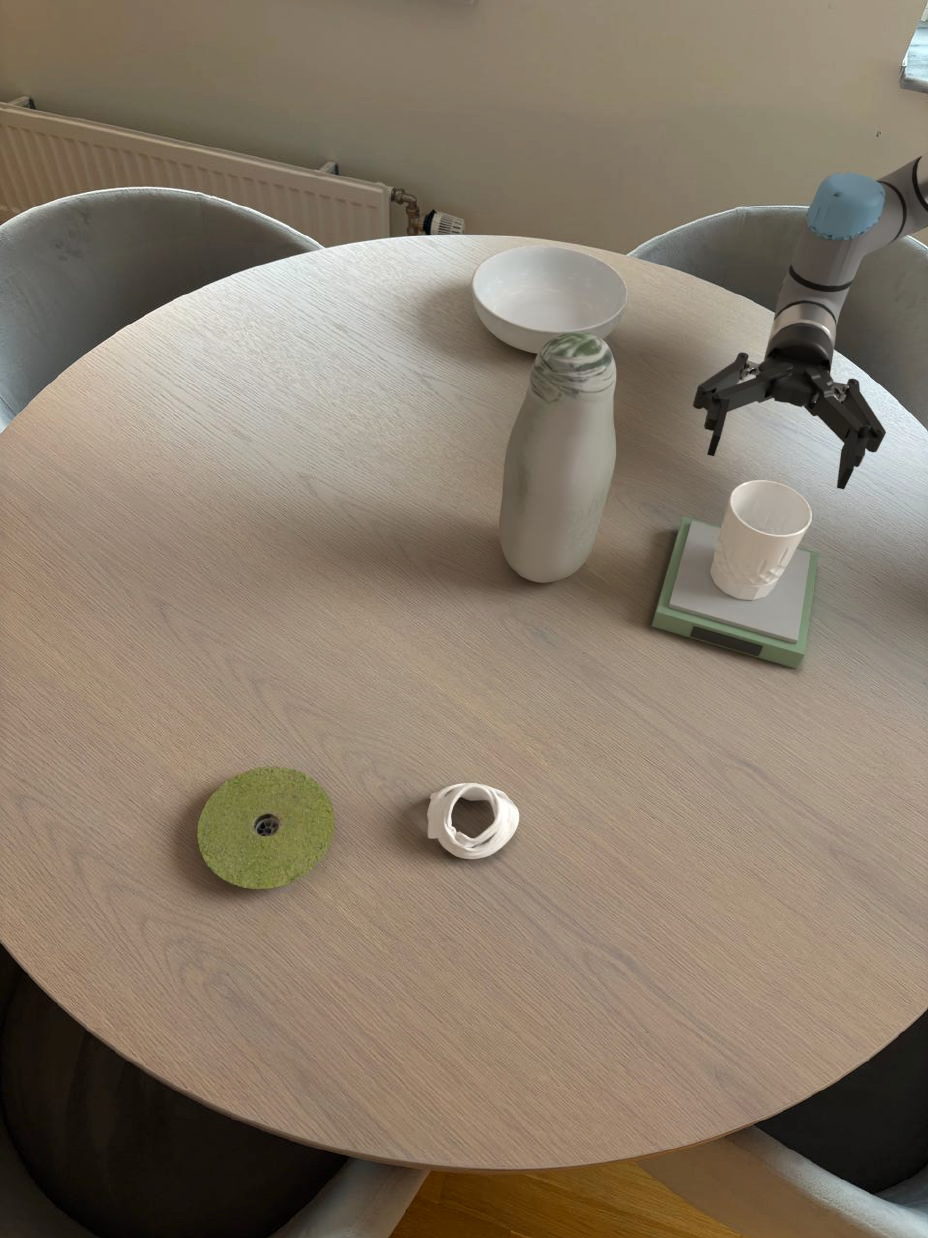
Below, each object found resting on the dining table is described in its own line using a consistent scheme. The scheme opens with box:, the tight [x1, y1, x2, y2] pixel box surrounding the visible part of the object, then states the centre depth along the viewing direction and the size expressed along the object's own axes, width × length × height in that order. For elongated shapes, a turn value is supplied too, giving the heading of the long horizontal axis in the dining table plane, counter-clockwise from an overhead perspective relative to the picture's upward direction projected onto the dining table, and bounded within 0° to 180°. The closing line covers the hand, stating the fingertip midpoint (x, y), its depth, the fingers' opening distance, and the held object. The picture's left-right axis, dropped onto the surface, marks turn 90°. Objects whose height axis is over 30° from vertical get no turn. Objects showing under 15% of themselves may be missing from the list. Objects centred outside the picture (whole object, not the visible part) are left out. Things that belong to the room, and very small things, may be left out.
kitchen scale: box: [651, 515, 820, 670], centre depth 100 cm, size 15×15×3 cm
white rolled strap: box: [426, 782, 520, 860], centre depth 81 cm, size 8×7×5 cm
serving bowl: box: [470, 244, 629, 354], centre depth 128 cm, size 21×21×7 cm
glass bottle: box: [498, 332, 617, 584], centre depth 92 cm, size 10×10×28 cm
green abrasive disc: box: [196, 765, 335, 890], centre depth 80 cm, size 11×11×2 cm
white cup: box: [710, 479, 813, 600], centre depth 95 cm, size 8×8×10 cm
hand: (778, 462), depth 98 cm, fingers open, 13 cm apart
